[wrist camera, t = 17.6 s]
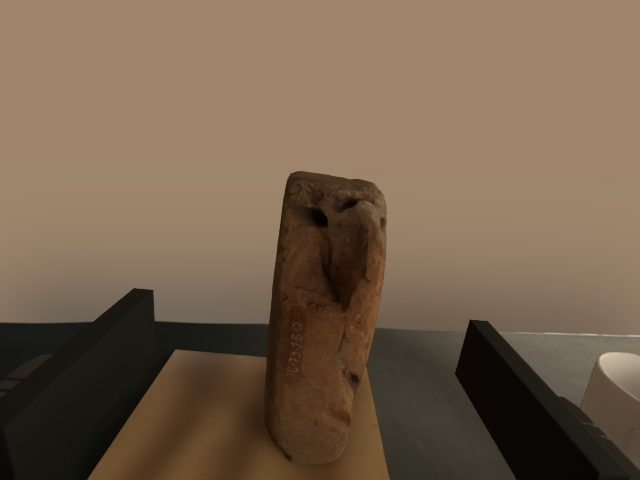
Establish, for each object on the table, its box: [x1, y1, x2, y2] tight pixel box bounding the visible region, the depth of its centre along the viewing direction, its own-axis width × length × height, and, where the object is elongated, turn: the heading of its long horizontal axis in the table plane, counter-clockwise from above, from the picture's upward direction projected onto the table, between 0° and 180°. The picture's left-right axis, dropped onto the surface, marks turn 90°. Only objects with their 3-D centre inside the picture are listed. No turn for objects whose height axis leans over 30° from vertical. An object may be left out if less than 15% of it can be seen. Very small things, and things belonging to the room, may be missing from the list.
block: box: [264, 171, 386, 465], centre depth 25 cm, size 11×8×20 cm
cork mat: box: [87, 350, 389, 480], centre depth 28 cm, size 20×14×1 cm
